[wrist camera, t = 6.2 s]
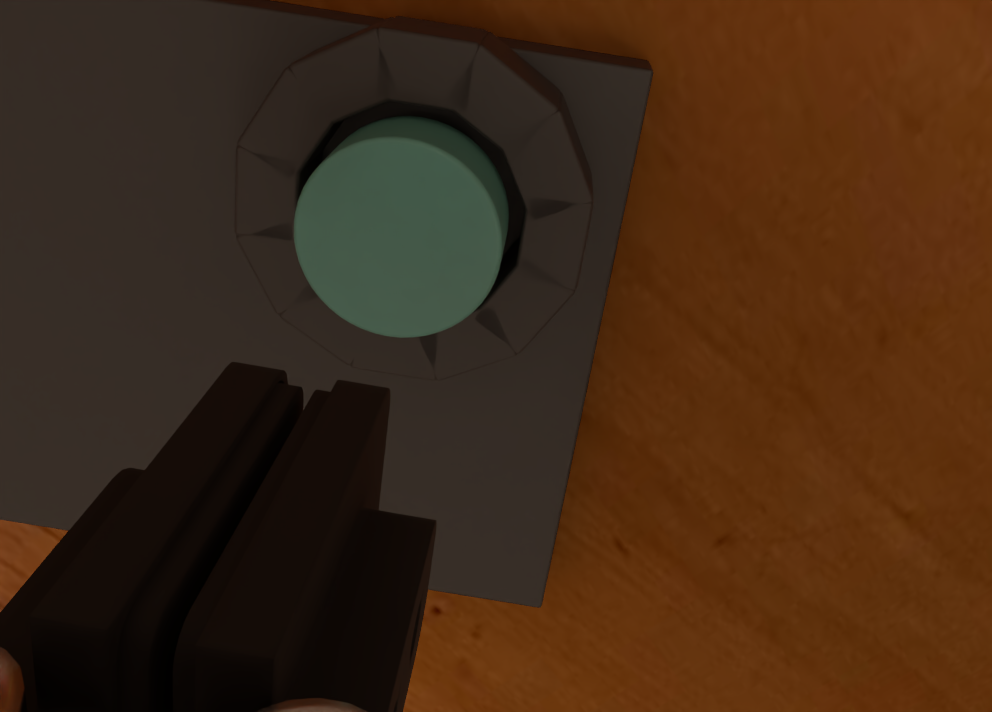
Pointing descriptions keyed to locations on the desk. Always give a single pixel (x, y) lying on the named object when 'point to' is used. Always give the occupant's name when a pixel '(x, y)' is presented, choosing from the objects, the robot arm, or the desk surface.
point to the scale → (272, 254)
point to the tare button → (403, 227)
